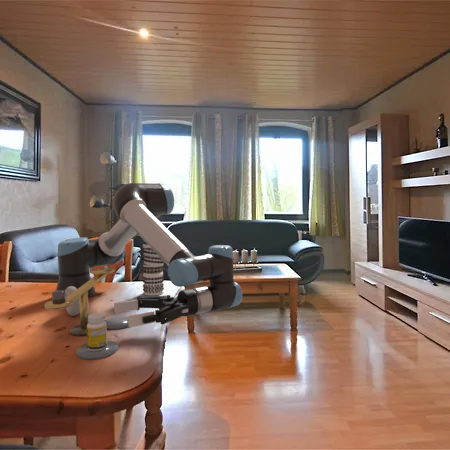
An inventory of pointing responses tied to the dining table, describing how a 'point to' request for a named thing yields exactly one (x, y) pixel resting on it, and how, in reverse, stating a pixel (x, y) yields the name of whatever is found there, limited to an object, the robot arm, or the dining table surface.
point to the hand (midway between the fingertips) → (121, 314)
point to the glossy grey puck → (117, 322)
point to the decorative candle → (152, 271)
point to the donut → (75, 307)
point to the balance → (82, 294)
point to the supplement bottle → (96, 332)
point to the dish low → (87, 354)
